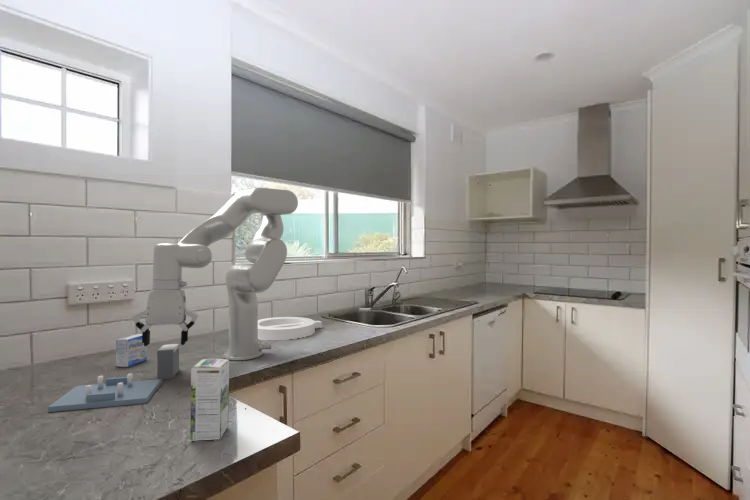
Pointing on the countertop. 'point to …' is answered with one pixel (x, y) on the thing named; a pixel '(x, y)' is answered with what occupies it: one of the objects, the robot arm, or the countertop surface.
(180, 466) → the countertop surface
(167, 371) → the block
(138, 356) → the medicine box
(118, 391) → the blue fixture board
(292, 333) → the ring with crossbar
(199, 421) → the syrup box
